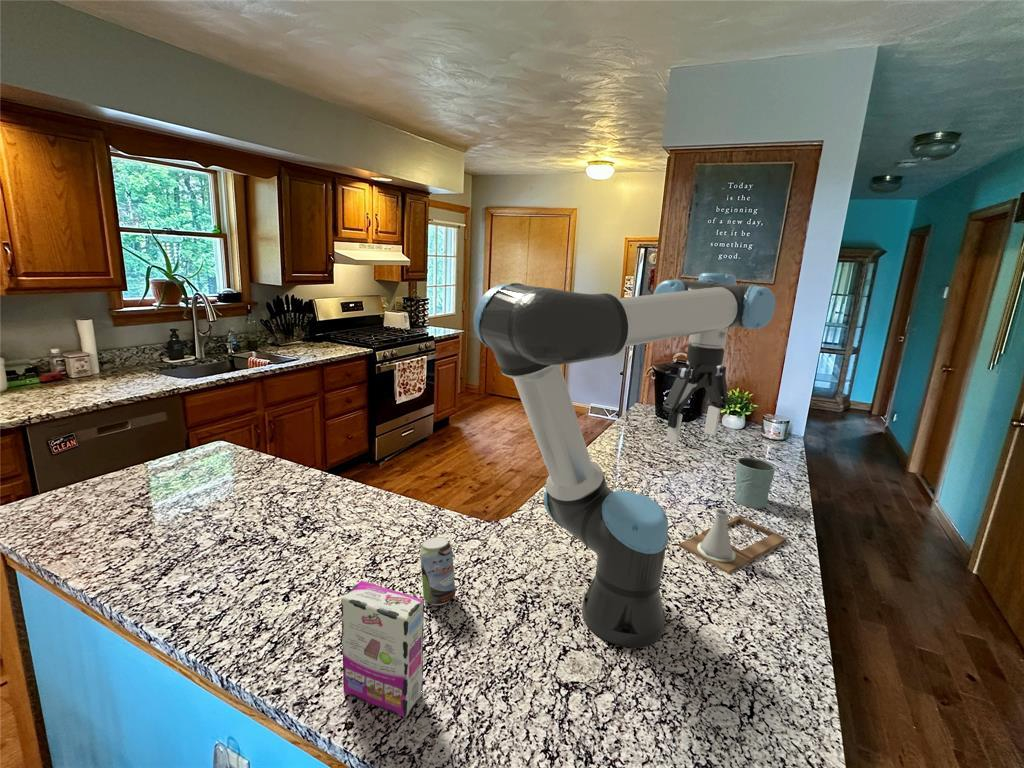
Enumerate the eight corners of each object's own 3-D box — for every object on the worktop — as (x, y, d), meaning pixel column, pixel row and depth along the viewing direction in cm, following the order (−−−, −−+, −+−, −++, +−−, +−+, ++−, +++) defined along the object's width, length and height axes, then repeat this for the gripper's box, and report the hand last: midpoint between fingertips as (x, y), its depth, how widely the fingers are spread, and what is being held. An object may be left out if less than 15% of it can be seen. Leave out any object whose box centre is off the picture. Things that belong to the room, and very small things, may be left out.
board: (728, 573, 110) (729, 569, 110) (678, 545, 120) (679, 541, 120) (786, 541, 125) (787, 537, 125) (738, 519, 135) (738, 515, 135)
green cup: (759, 513, 140) (766, 473, 137) (724, 499, 147) (730, 461, 144) (773, 503, 146) (781, 465, 144) (739, 490, 154) (746, 454, 151)
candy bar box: (424, 693, 75) (426, 598, 71) (406, 720, 71) (407, 620, 67) (362, 668, 79) (361, 577, 75) (341, 693, 74) (339, 597, 71)
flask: (735, 561, 113) (743, 521, 111) (702, 556, 114) (709, 516, 112) (729, 544, 120) (735, 507, 118) (697, 540, 121) (703, 502, 119)
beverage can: (441, 614, 92) (442, 557, 89) (411, 599, 96) (412, 543, 93) (462, 597, 97) (464, 541, 94) (433, 583, 101) (434, 529, 98)
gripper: (684, 349, 99) (668, 450, 104) (755, 347, 113) (738, 435, 118) (654, 343, 105) (641, 438, 110) (725, 341, 119) (710, 426, 124)
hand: (691, 437), depth 114 cm, fingers open, 13 cm apart
